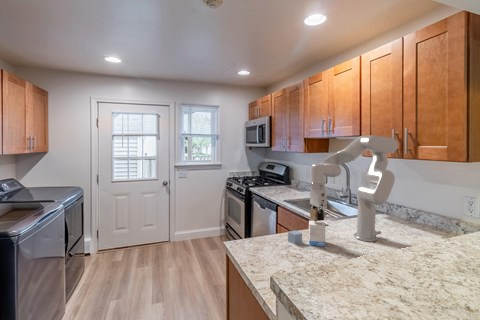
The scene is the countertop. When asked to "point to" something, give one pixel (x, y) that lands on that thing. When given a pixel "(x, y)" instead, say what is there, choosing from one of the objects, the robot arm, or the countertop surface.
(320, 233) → the ink box
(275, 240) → the countertop surface
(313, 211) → the walnut cube
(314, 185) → the robot arm
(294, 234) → the slate cube
